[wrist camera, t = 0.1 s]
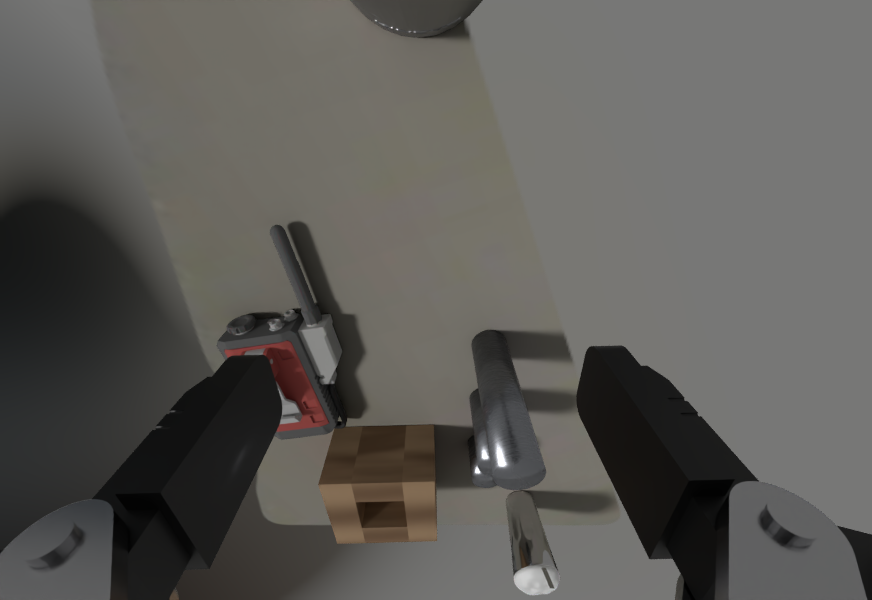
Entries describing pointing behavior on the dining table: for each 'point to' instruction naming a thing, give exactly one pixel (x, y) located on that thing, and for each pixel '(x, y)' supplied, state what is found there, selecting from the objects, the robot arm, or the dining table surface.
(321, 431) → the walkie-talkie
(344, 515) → the hole block
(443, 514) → the dining table surface
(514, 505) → the milkshake
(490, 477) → the pin short
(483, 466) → the pin medium
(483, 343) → the pin long
